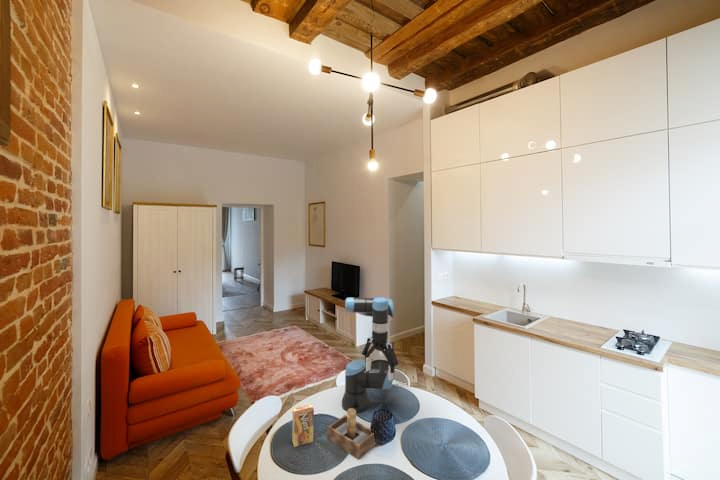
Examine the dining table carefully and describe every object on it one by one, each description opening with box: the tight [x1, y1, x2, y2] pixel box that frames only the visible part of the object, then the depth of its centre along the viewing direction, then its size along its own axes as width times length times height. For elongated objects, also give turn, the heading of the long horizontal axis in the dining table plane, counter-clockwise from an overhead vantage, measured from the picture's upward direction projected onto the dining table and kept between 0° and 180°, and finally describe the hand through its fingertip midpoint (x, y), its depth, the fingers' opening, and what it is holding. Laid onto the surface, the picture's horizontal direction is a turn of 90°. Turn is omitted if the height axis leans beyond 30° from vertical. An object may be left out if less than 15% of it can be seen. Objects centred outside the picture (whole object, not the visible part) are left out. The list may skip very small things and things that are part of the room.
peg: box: [346, 408, 357, 440], centre depth 135 cm, size 4×4×14 cm
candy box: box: [291, 404, 315, 448], centre depth 134 cm, size 9×4×15 cm, turn 116°
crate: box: [326, 414, 377, 460], centre depth 135 cm, size 19×12×6 cm, turn 49°
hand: (379, 374), depth 143 cm, fingers open, 13 cm apart
